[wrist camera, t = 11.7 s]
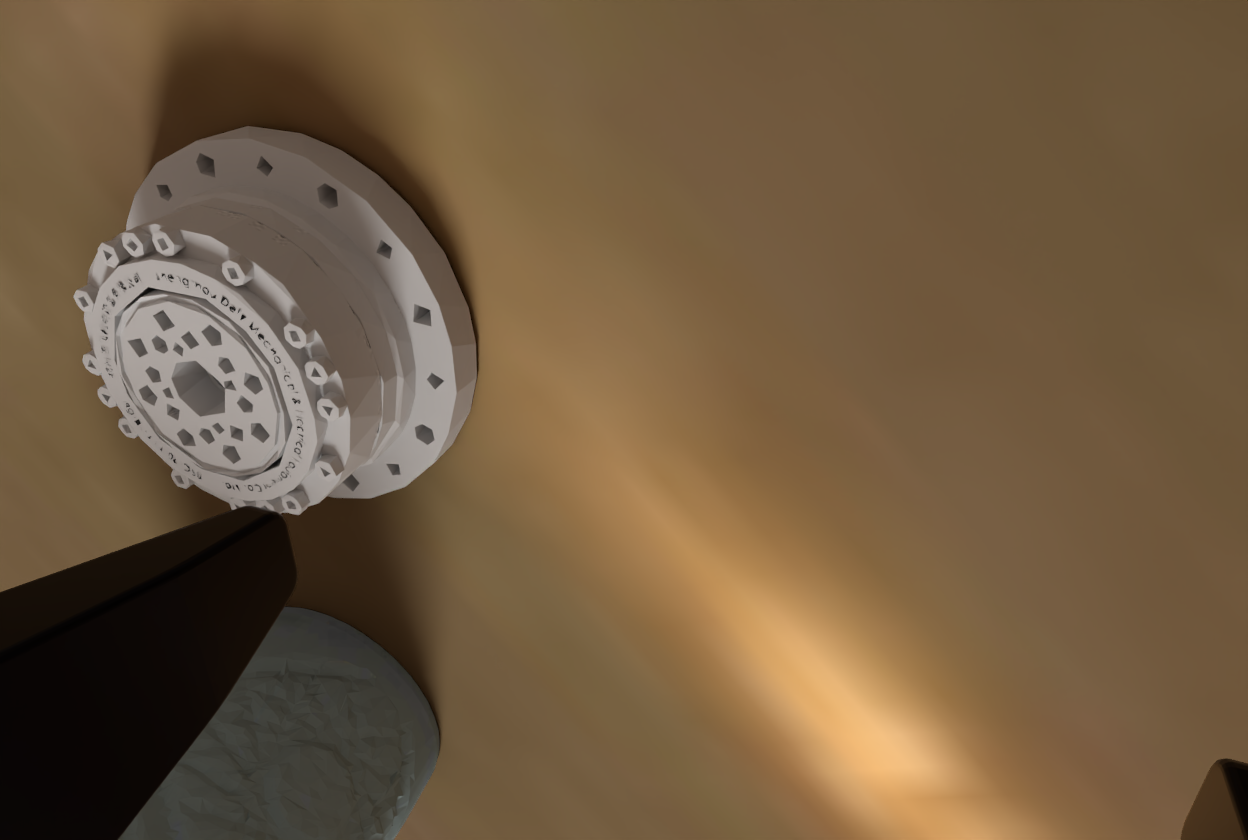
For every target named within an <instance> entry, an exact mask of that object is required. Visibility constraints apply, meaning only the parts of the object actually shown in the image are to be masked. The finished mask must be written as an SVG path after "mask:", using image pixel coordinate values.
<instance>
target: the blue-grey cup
mask: <svg viewBox="0 0 1248 840" xmlns="http://www.w3.org/2000/svg"><path fill="white" fill-rule="evenodd" d="M439 747H440V742H439V731H438V727H437V724H436V720H435V717H434V715H433V712H432V710H431V708H430V705H429V703H428V701H427V699H426V698H425V696H424V695H423V693H422V692H421V690H420V688H419V687H418V685H417V684H416V683H415V681H414V680H413V679H412V677H411V676H410V675H409V674H408V672H407V671H406V670H405V669H404V668H403V667H402V666H401V665H400V664H399V663H398V662H397V661H396V659H394V658H393V657H392V656H391V655H390V654H389V653H388V652H387V651H385V650H384V649H383V648H382V647H381V646H380V645H378V644H377V643H375V642H374V641H373V640H371V639H370V638H369V637H367V636H366V635H364V634H363V633H362V632H360V631H358V630H357V629H355V628H353V627H351V626H350V625H348V624H346V623H344V622H342V621H339V620H337V619H335V618H333V617H331V616H328V615H326V614H322V613H319V612H316V611H313V610H308V609H304V608H295V607H284V608H283V610H282V612H281V613H280V615H279V616H278V618H277V620H276V621H275V623H274V624H273V626H272V627H271V629H270V631H269V632H268V634H267V635H266V637H265V638H264V640H263V642H262V643H261V645H260V646H259V648H258V649H257V651H256V653H255V654H254V656H253V657H252V659H251V661H250V662H249V664H248V665H247V667H246V668H245V670H244V672H243V673H242V675H241V676H240V678H239V679H238V681H237V683H236V684H235V686H234V687H233V689H232V690H231V692H230V693H229V695H228V696H227V698H226V699H225V701H224V702H223V704H222V705H221V707H220V708H219V710H218V711H217V712H216V714H215V715H214V716H213V718H212V719H211V721H210V722H209V723H208V725H207V726H206V727H205V729H204V730H203V731H202V732H201V734H200V735H199V736H198V738H197V739H196V740H195V741H194V743H193V744H192V745H191V747H190V748H189V749H188V750H187V752H186V753H185V754H184V756H183V757H182V758H181V760H180V761H179V762H178V763H177V765H176V766H175V767H174V769H173V770H172V771H171V772H170V774H169V775H168V776H167V778H166V779H165V780H164V781H163V783H162V784H161V785H160V787H159V788H158V789H157V790H156V792H155V793H154V794H153V796H152V797H151V798H150V799H149V801H148V802H147V803H146V805H145V806H144V807H143V808H142V810H141V811H140V812H139V814H138V815H137V816H136V817H135V819H134V820H133V821H132V823H131V824H130V825H129V827H128V828H127V829H126V830H125V832H124V833H123V834H122V836H121V837H120V838H119V839H118V840H394V838H395V837H396V835H397V834H398V832H399V831H400V829H401V827H402V826H403V824H404V823H405V821H406V819H407V818H408V816H409V814H410V812H411V810H412V809H413V807H414V805H415V803H416V802H417V800H418V798H419V796H420V795H421V793H422V791H423V789H424V787H425V786H426V784H427V782H428V780H429V779H430V777H431V775H432V773H433V771H434V769H435V765H436V762H437V758H438V755H439Z"/></svg>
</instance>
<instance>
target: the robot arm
mask: <svg viewBox="0 0 1248 840" xmlns="http://www.w3.org/2000/svg"><path fill="white" fill-rule="evenodd" d="M297 580H298V567H297V563H296V558H295V554H294V550H293V545H292V541H291V537H290V532H289V528H288V524H287V521H286V519H285V518H284V517H283V516H282V514H280V513H278V512H275V511H272V510H268V509H264V508H260V507H256V506H243V507H239V508H237V509H234V510H231V511H228V512H225V513H223V514H220V515H217V516H214V517H211V518H208V519H206V520H203V521H200V522H197V523H194V524H192V525H189V526H186V527H183V528H180V529H177V530H175V531H172V532H169V533H166V534H163V535H160V536H158V537H155V538H152V539H149V540H146V541H144V542H141V543H138V544H135V545H132V546H129V547H127V548H124V549H121V550H118V551H115V552H112V553H110V554H107V555H104V556H101V557H98V558H96V559H93V560H90V561H87V562H84V563H81V564H79V565H76V566H73V567H70V568H67V569H64V570H62V571H59V572H56V573H53V574H50V575H48V576H45V577H42V578H39V579H36V580H33V581H31V582H28V583H25V584H22V585H19V586H16V587H14V588H11V589H8V590H5V591H2V592H0V840H118V839H119V838H120V837H121V836H122V834H123V833H124V832H125V830H126V829H127V828H128V827H129V825H130V824H131V823H132V821H133V820H134V819H135V817H136V816H137V815H138V814H139V812H140V811H141V810H142V808H143V807H144V806H145V805H146V803H147V802H148V801H149V799H150V798H151V797H152V796H153V794H154V793H155V792H156V790H157V789H158V788H159V787H160V785H161V784H162V783H163V781H164V780H165V779H166V778H167V776H168V775H169V774H170V772H171V771H172V770H173V769H174V767H175V766H176V765H177V763H178V762H179V761H180V760H181V758H182V757H183V756H184V754H185V753H186V752H187V750H188V749H189V748H190V747H191V745H192V744H193V743H194V741H195V740H196V739H197V738H198V736H199V735H200V734H201V732H202V731H203V730H204V729H205V727H206V726H207V725H208V723H209V722H210V721H211V719H212V718H213V716H214V715H215V714H216V712H217V711H218V710H219V708H220V707H221V705H222V704H223V702H224V701H225V699H226V698H227V696H228V695H229V693H230V692H231V690H232V689H233V687H234V686H235V684H236V683H237V681H238V679H239V678H240V676H241V675H242V673H243V672H244V670H245V668H246V667H247V665H248V664H249V662H250V661H251V659H252V657H253V656H254V654H255V653H256V651H257V649H258V648H259V646H260V645H261V643H262V642H263V640H264V638H265V637H266V635H267V634H268V632H269V631H270V629H271V627H272V626H273V624H274V623H275V621H276V620H277V618H278V616H279V615H280V613H281V612H282V610H283V608H284V607H285V605H286V604H287V602H288V601H289V599H290V597H291V596H292V594H293V592H294V590H295V587H296V585H297ZM1181 840H1248V764H1247V763H1243V762H1239V761H1236V760H1232V759H1220V760H1217V761H1216V762H1215V763H1214V764H1213V765H1212V767H1211V768H1210V770H1209V772H1208V774H1207V776H1206V778H1205V780H1204V782H1203V784H1202V786H1201V789H1200V791H1199V793H1198V795H1197V797H1196V799H1195V801H1194V803H1193V805H1192V807H1191V809H1190V811H1189V813H1188V816H1187V818H1186V820H1185V822H1184V826H1183V829H1182V834H1181Z"/></svg>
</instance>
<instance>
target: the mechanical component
mask: <svg viewBox="0 0 1248 840" xmlns="http://www.w3.org/2000/svg"><path fill="white" fill-rule="evenodd" d="M73 297H74V299H75V301H76V303H77V305H78V306H79V307H80V308H81V309H82V311H85V313H84V321H85V325H86V329H87V333H88V336H89V340H90V344H91V348H92V351H90V352H88V353H86V354H85V355H83V363H84V365H85V368H86V369H87V370H88V371H90V372H91V373H93V374H95V375H97V376H98V375H100V374H101V376H102V378H103V380H104V382H105V385H103V386H102V387H100V388H99V389H98V396H99V398H100V399H101V401H102V402H103V403H104V404H105V405H107V406H108V407H110V408H111V407H115V406H118V407H119V409H120V410H121V412H122V413H123V415H124V416H123V417H122V418H120V419H119V425H118V427H119V428H120V430H121V431H122V432H123V433H124V434H125V435H126V436H127V437H130V438H136V437H138V436H139V437H140V438H141V439H142V440H143V441H144V442H145V443H146V444H147V445H148V446H149V447H150V448H151V449H152V450H153V451H154V452H155V453H156V454H157V455H159V456H160V457H161V458H162V459H163V460H164V461H165V462H166V463H167V464H168V465H169V466H170V467H171V468H172V469H173V471H172V473H171V477H172V479H173V481H174V482H175V484H176V485H177V486H178V487H181V488H184V489H187V488H188V487H190V486H191V485H193V484H195V485H196V486H197V487H199V488H200V489H202V490H204V491H206V492H208V493H210V494H212V495H214V496H216V497H218V498H220V499H222V500H224V501H226V502H228V503H229V504H230V506H231V509H232V510H234V509H237V508H239V507H243V506H256V507H260V508H264V509H268V510H272V511H275V512H278V513H280V514H281V513H290V514H295V515H300V514H301V513H302V512H303V511H304V510H306V509H307V507H308V506H312V505H315V504H318V503H320V502H321V501H322V500H323V499H324V498H325V497H326V496H328V497H333V498H374V497H376V496H379V495H382V494H385V493H388V492H391V491H394V490H397V489H400V488H403V487H406V486H407V485H408V484H409V483H411V482H412V481H413V480H414V479H415V478H417V477H418V476H419V475H420V474H421V473H423V472H424V471H425V470H426V469H427V468H429V467H430V466H431V465H432V464H433V463H434V462H436V461H437V460H438V459H439V458H440V457H441V456H442V455H443V454H444V453H445V452H446V451H447V450H448V449H449V448H450V447H451V446H452V444H453V442H454V441H455V439H456V437H457V435H458V433H459V431H460V429H461V427H462V426H463V424H464V422H465V420H466V418H467V416H468V414H469V412H470V410H471V405H472V400H473V395H474V389H475V384H476V379H477V363H476V342H475V337H474V332H473V327H472V322H471V317H470V312H469V308H468V305H467V303H466V301H465V298H464V296H463V294H462V292H461V289H460V287H459V285H458V282H457V280H456V278H455V275H454V273H453V271H452V268H451V266H450V264H449V262H448V259H447V257H446V255H445V253H444V251H443V250H442V249H441V247H440V246H439V244H438V243H437V242H436V240H435V239H434V238H433V236H432V235H431V234H430V232H429V231H428V229H427V228H426V227H425V225H424V224H423V223H422V221H421V220H420V219H419V217H418V216H417V214H416V213H415V212H414V210H413V209H412V208H411V206H410V205H409V204H408V203H407V202H405V201H404V200H403V199H402V198H401V197H400V196H399V195H398V194H397V193H396V192H395V191H394V190H393V189H392V188H391V187H390V186H389V185H388V184H387V183H386V182H385V181H384V180H383V179H382V178H381V177H380V176H379V175H377V174H376V173H374V172H373V171H371V170H370V169H368V168H367V167H365V166H364V165H362V164H361V163H360V162H358V161H357V160H355V159H354V158H352V157H351V156H349V155H348V154H346V153H345V152H343V151H342V150H340V149H337V148H335V147H333V146H330V145H328V144H326V143H323V142H321V141H318V140H316V139H314V138H311V137H309V136H307V135H304V134H302V133H296V132H289V131H281V130H274V129H267V128H260V127H252V126H246V127H242V128H239V129H235V130H232V131H228V132H225V133H221V134H218V135H214V136H211V137H207V138H204V139H200V140H197V141H195V142H193V143H191V144H190V145H188V146H186V147H184V148H182V149H181V150H179V151H177V152H175V153H173V154H172V155H170V156H168V157H166V158H164V159H163V160H161V161H159V162H157V163H156V164H155V165H154V167H153V168H152V170H151V171H150V173H149V174H148V176H147V177H146V179H145V180H144V182H143V183H142V185H141V186H140V188H139V189H138V191H137V192H136V194H135V197H134V200H133V203H132V207H131V210H130V213H129V217H128V220H127V226H126V231H125V232H122V233H120V234H118V235H117V236H116V237H115V238H114V239H113V240H111V241H107V242H103V243H101V245H100V246H99V248H98V253H97V254H96V257H95V259H94V261H93V263H92V265H91V267H90V269H89V274H88V283H87V286H84V287H82V288H80V289H78V290H76V292H75V294H74V296H73Z"/></svg>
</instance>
